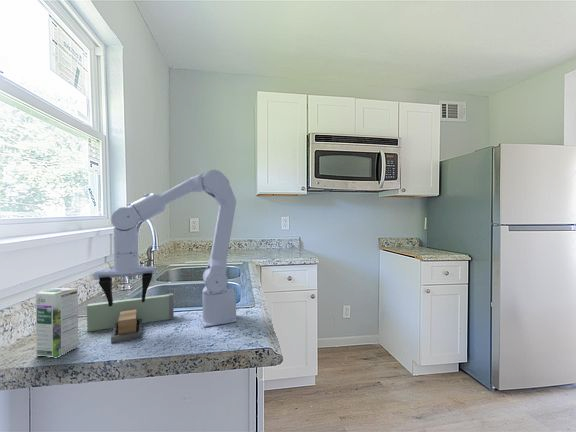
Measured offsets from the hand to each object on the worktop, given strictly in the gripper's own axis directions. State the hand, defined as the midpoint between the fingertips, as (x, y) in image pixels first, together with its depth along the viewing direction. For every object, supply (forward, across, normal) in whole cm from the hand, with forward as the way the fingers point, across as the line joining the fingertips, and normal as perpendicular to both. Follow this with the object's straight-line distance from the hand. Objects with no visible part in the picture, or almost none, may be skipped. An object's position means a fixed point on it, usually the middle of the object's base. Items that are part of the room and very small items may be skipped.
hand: (127, 303), depth 79 cm
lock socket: (+8, 0, 0) cm, 8 cm away
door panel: (+8, -1, -7) cm, 11 cm away
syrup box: (+8, +14, +5) cm, 17 cm away
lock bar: (+8, 0, 0) cm, 8 cm away
